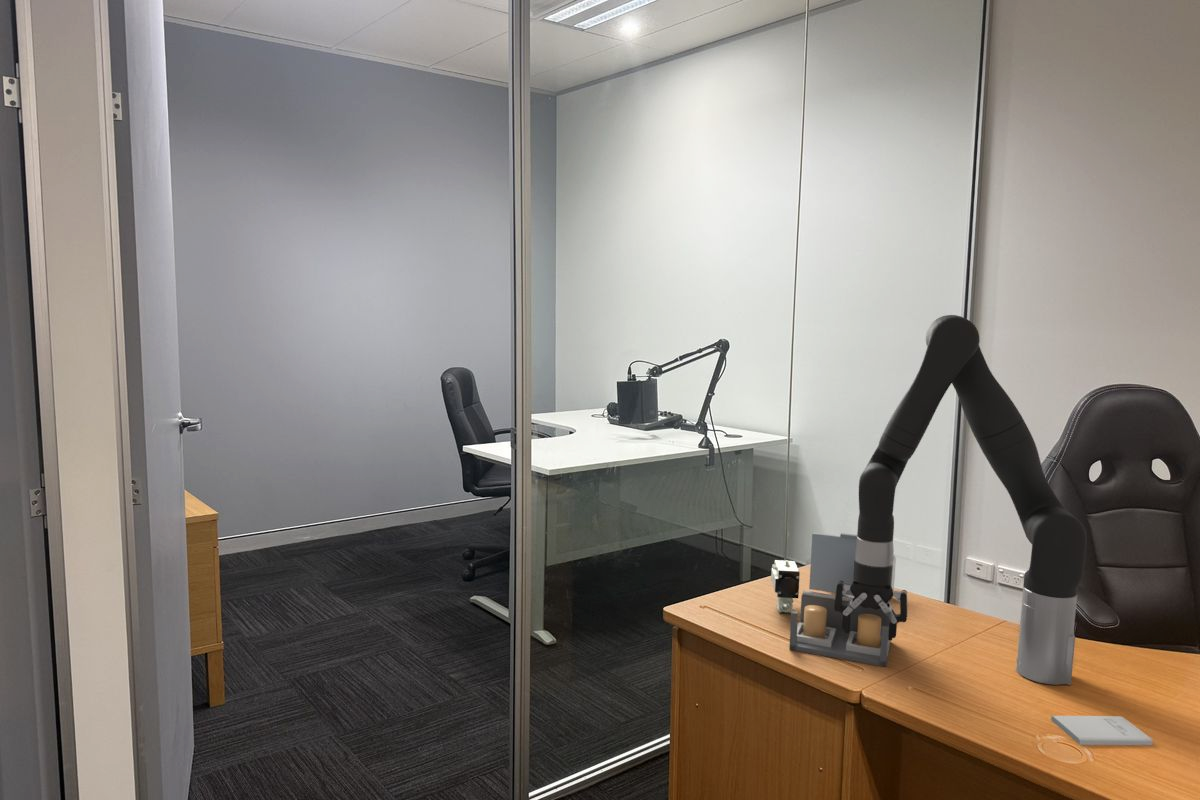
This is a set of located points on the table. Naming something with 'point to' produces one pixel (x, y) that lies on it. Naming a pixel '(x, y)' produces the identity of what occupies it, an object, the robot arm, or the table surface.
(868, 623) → the beige rounded cylinder
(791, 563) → the pneumatic valve
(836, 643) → the housing
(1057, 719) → the external hard drive
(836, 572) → the lid
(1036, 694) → the table surface
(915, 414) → the robot arm
